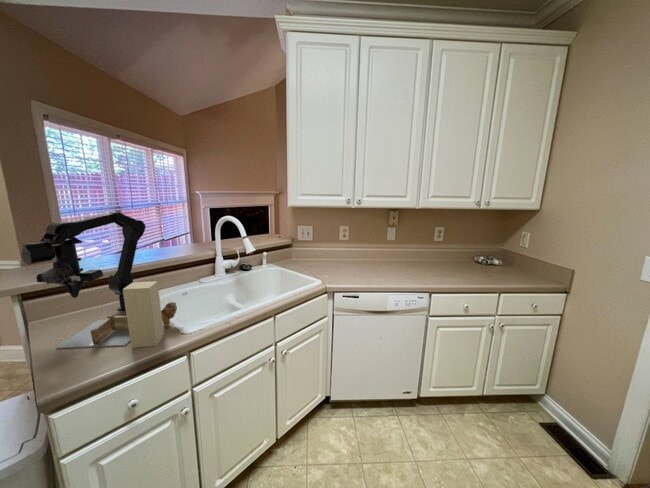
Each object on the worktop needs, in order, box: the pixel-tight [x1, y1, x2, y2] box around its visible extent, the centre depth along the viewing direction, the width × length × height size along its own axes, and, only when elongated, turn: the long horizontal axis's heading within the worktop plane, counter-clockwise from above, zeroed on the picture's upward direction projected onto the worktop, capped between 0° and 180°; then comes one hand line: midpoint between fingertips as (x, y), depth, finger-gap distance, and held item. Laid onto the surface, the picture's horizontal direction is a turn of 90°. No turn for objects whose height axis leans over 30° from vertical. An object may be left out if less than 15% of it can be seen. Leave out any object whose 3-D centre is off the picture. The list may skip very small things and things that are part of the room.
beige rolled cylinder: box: [91, 318, 112, 345], centre depth 94 cm, size 2×9×5 cm, turn 9°
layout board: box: [56, 319, 131, 350], centre depth 99 cm, size 18×22×1 cm
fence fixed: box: [106, 314, 129, 331], centre depth 100 cm, size 2×11×6 cm, turn 95°
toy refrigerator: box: [123, 280, 165, 349], centre depth 92 cm, size 8×7×21 cm
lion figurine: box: [161, 301, 178, 329], centre depth 100 cm, size 15×5×9 cm, turn 140°
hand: (75, 297), depth 100 cm, fingers closed
